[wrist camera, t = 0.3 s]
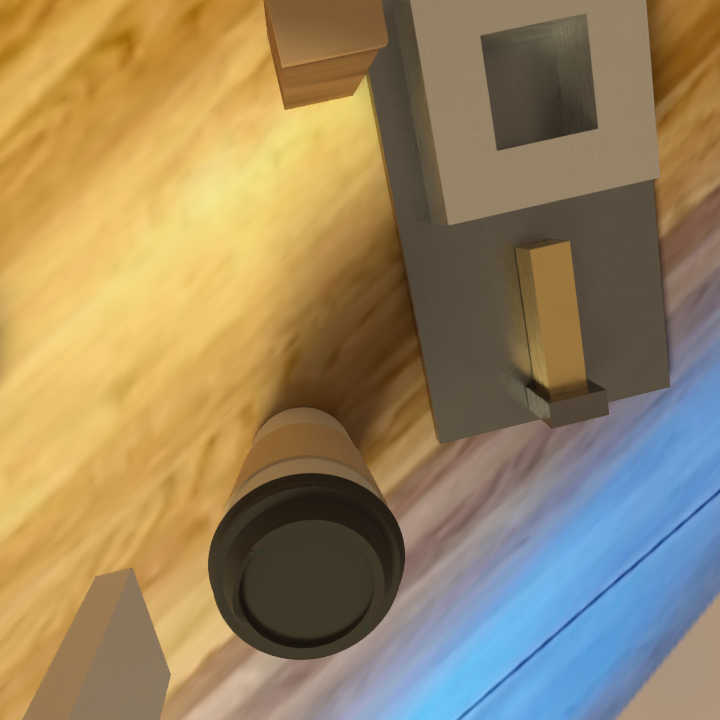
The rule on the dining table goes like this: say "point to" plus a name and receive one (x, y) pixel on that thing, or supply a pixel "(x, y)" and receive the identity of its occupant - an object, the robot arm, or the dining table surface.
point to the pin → (555, 337)
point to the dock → (521, 190)
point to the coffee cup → (305, 542)
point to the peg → (323, 46)
